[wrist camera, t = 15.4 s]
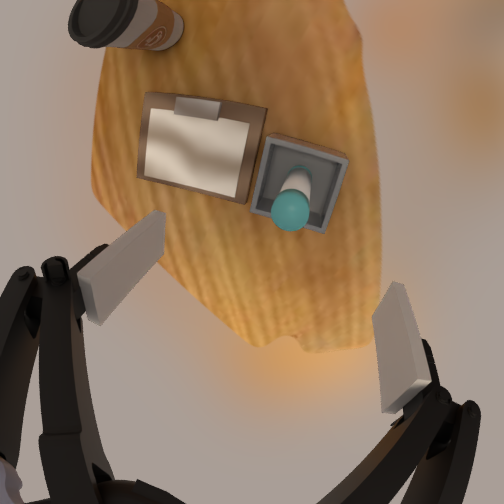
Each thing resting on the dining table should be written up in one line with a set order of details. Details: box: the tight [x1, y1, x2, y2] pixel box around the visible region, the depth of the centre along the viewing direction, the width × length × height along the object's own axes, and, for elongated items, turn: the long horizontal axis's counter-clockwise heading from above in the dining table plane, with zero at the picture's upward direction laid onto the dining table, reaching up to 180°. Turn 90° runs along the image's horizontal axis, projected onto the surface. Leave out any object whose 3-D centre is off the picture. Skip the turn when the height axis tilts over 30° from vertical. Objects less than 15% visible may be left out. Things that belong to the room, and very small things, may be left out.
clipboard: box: [137, 92, 267, 205], centre depth 34 cm, size 13×17×2 cm
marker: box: [271, 165, 312, 231], centre depth 29 cm, size 3×3×13 cm
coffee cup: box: [68, 0, 184, 51], centre depth 21 cm, size 8×8×15 cm
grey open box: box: [250, 133, 349, 234], centre depth 32 cm, size 9×9×5 cm
